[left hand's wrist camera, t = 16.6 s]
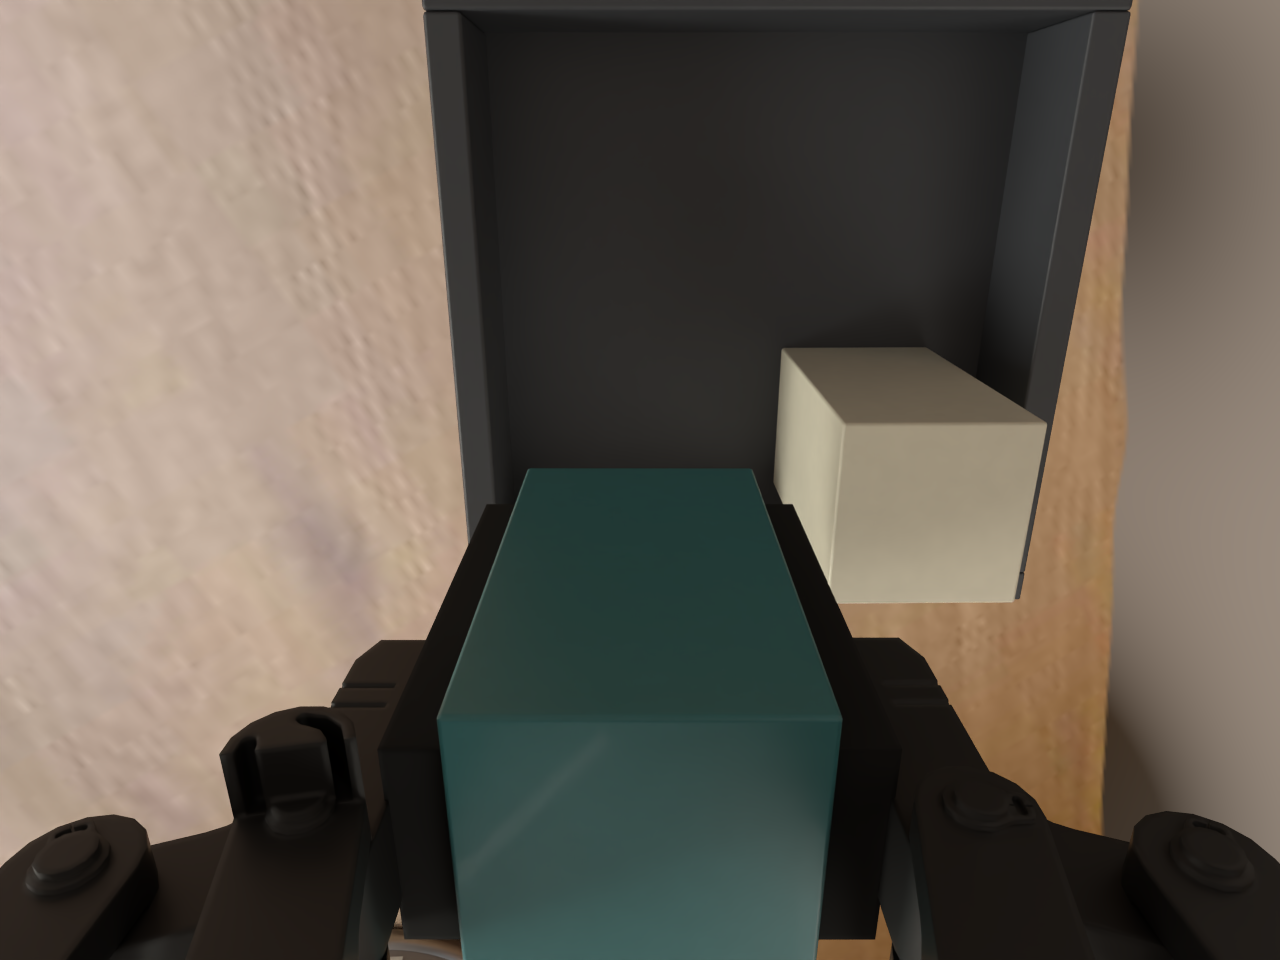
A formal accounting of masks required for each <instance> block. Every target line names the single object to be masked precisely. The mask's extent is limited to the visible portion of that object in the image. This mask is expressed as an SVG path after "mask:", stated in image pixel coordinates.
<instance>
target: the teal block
mask: <svg viewBox="0 0 1280 960" xmlns="http://www.w3.org/2000/svg"><path fill="white" fill-rule="evenodd" d="M842 720H843V718H842V716H841V713H840V710H839V707H838V705H837V702H836V699H835V696H834V694H833V691H832V688H831V685H830V683H829V680H828V677H827V674H826V672H825V669H824V666H823V663H822V661H821V658H820V655H819V652H818V649H817V647H816V644H815V641H814V638H813V636H812V633H811V630H810V627H809V625H808V622H807V619H806V616H805V614H804V611H803V608H802V605H801V603H800V600H799V597H798V594H797V592H796V589H795V586H794V583H793V581H792V578H791V575H790V572H789V570H788V567H787V564H786V561H785V559H784V556H783V553H782V550H781V548H780V545H779V542H778V539H777V536H776V534H775V531H774V528H773V525H772V523H771V520H770V517H769V514H768V512H767V509H766V506H765V503H764V501H763V498H762V495H761V492H760V490H759V487H758V484H757V481H756V479H755V476H754V473H753V470H752V469H683V468H530V469H528V471H527V473H526V476H525V479H524V481H523V484H522V487H521V490H520V492H519V495H518V498H517V501H516V503H515V506H514V509H513V511H512V514H511V517H510V520H509V522H508V525H507V528H506V531H505V533H504V536H503V539H502V541H501V544H500V547H499V550H498V552H497V555H496V558H495V561H494V563H493V566H492V569H491V571H490V574H489V577H488V580H487V582H486V585H485V588H484V591H483V593H482V596H481V599H480V601H479V604H478V607H477V610H476V612H475V615H474V618H473V621H472V623H471V626H470V629H469V631H468V634H467V637H466V640H465V642H464V645H463V648H462V651H461V653H460V656H459V659H458V661H457V664H456V667H455V670H454V672H453V675H452V678H451V681H450V683H449V686H448V689H447V691H446V694H445V697H444V700H443V702H442V705H441V708H440V711H439V713H438V716H437V727H438V736H439V745H440V754H441V763H442V773H443V782H444V791H445V800H446V809H447V819H448V828H449V837H450V846H451V855H452V864H453V874H454V883H455V892H456V901H457V910H458V919H459V929H460V938H461V947H462V956H463V960H816V957H817V948H818V939H819V930H820V921H821V912H822V903H823V893H824V884H825V875H826V866H827V857H828V848H829V839H830V830H831V820H832V811H833V802H834V793H835V784H836V775H837V766H838V757H839V748H840V738H841V729H842Z"/></svg>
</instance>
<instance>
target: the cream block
mask: <svg viewBox="0 0 1280 960" xmlns="http://www.w3.org/2000/svg"><path fill="white" fill-rule="evenodd" d="M1046 428H1047V423H1046V422H1045V421H1043V420H1042V419H1040V418H1038V417H1037V416H1035V415H1034V414H1032V413H1030V412H1029V411H1027V410H1026V409H1024V408H1022V407H1021V406H1019V405H1018V404H1016V403H1014V402H1013V401H1011V400H1010V399H1008V398H1006V397H1005V396H1003V395H1002V394H1000V393H998V392H997V391H995V390H994V389H992V388H990V387H989V386H987V385H985V384H984V383H982V382H981V381H979V380H977V379H976V378H974V377H973V376H971V375H969V374H968V373H966V372H965V371H963V370H961V369H960V368H958V367H957V366H955V365H953V364H952V363H950V362H949V361H947V360H945V359H944V358H942V357H941V356H939V355H937V354H936V353H934V352H933V351H931V350H929V349H928V348H926V347H879V348H783V349H782V351H781V367H780V383H779V400H778V416H777V432H776V448H775V464H774V481H773V482H774V485H775V487H776V489H777V492H778V494H779V496H780V498H781V501H782V503H783V504H793V506H794V508H795V510H796V512H797V515H798V517H799V519H800V521H801V524H802V526H803V528H804V530H805V533H806V535H807V537H808V539H809V541H810V544H811V546H812V548H813V550H814V553H815V555H816V557H817V559H818V562H819V564H820V566H821V568H822V571H823V573H824V575H825V577H826V580H827V582H828V584H829V586H830V588H831V591H832V593H833V595H834V597H835V600H836V602H837V603H991V602H1014V600H1015V594H1016V589H1017V584H1018V578H1019V573H1020V568H1021V562H1022V557H1023V552H1024V546H1025V541H1026V536H1027V530H1028V525H1029V519H1030V514H1031V509H1032V503H1033V498H1034V493H1035V487H1036V482H1037V477H1038V471H1039V466H1040V461H1041V455H1042V450H1043V445H1044V439H1045V434H1046Z"/></svg>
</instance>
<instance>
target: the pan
mask: <svg viewBox="0 0 1280 960" xmlns="http://www.w3.org/2000/svg"><path fill="white" fill-rule="evenodd" d="M1132 1H1133V0H422V6H423V8H424V10H425V11H426V12H424V15H423V18H424V30H425V42H426V53H427V65H428V77H429V89H430V100H431V112H432V124H433V135H434V147H435V159H436V171H437V182H438V194H439V206H440V218H441V229H442V241H443V253H444V264H445V276H446V288H447V300H448V311H449V323H450V335H451V347H452V358H453V370H454V382H455V393H456V405H457V417H458V429H459V440H460V452H461V464H462V476H463V487H464V499H465V511H466V522H467V534H468V545H469V543H470V540H471V538H472V536H473V534H474V531H475V529H476V527H477V525H478V523H479V520H480V518H481V516H482V514H483V511H484V509H485V507H486V505H487V504H515V503H516V501H517V498H518V495H519V492H520V490H521V487H522V484H523V481H524V479H525V476H526V473H527V471H528V469H530V468H683V469H752V470H753V473H754V476H755V479H756V481H757V484H758V487H759V490H760V492H761V495H762V498H763V501H764V503H765V504H783V503H782V501H781V498H780V496H779V494H778V492H777V489H776V487H775V485H774V482H773V481H774V464H775V448H776V432H777V416H778V400H779V383H780V367H781V351H782V349H783V348H879V347H926V348H928V349H929V350H931V351H933V352H934V353H936V354H937V355H939V356H941V357H942V358H944V359H945V360H947V361H949V362H950V363H952V364H953V365H955V366H957V367H958V368H960V369H961V370H963V371H965V372H966V373H968V374H969V375H971V376H973V377H974V378H976V379H977V380H979V381H981V382H982V383H984V384H985V385H987V386H989V387H990V388H992V389H994V390H995V391H997V392H998V393H1000V394H1002V395H1003V396H1005V397H1006V398H1008V399H1010V400H1011V401H1013V402H1014V403H1016V404H1018V405H1019V406H1021V407H1022V408H1024V409H1026V410H1027V411H1029V412H1030V413H1032V414H1034V415H1035V416H1037V417H1038V418H1040V419H1042V420H1043V421H1045V422H1046V423H1047V428H1046V434H1045V439H1044V445H1043V450H1042V455H1041V461H1040V466H1039V471H1038V477H1037V482H1036V487H1035V493H1034V498H1033V503H1032V509H1031V514H1030V519H1029V525H1028V530H1027V536H1026V541H1025V546H1024V552H1023V557H1022V562H1021V568H1020V573H1019V578H1018V584H1017V589H1016V594H1015V599H1019V598H1020V594H1021V589H1022V584H1023V579H1024V571H1025V567H1026V561H1027V556H1028V551H1029V546H1030V540H1031V535H1032V530H1033V525H1034V519H1035V514H1036V509H1037V504H1038V498H1039V493H1040V488H1041V482H1042V477H1043V472H1044V467H1045V461H1046V456H1047V451H1048V446H1049V440H1050V435H1051V430H1052V425H1053V419H1054V414H1055V409H1056V404H1057V398H1058V393H1059V388H1060V382H1061V377H1062V372H1063V367H1064V361H1065V356H1066V351H1067V346H1068V340H1069V335H1070V330H1071V325H1072V319H1073V314H1074V309H1075V304H1076V298H1077V293H1078V288H1079V282H1080V277H1081V272H1082V267H1083V261H1084V256H1085V251H1086V246H1087V240H1088V235H1089V230H1090V225H1091V219H1092V214H1093V209H1094V204H1095V198H1096V193H1097V188H1098V183H1099V177H1100V172H1101V167H1102V161H1103V156H1104V151H1105V146H1106V140H1107V135H1108V130H1109V125H1110V119H1111V114H1112V109H1113V104H1114V98H1115V93H1116V88H1117V83H1118V77H1119V72H1120V67H1121V61H1122V56H1123V51H1124V46H1125V40H1126V35H1127V30H1128V25H1129V19H1130V12H1128V10H1129V9H1130V8H1131V6H1132Z"/></svg>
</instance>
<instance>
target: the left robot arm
mask: <svg viewBox="0 0 1280 960" xmlns="http://www.w3.org/2000/svg"><path fill="white" fill-rule="evenodd" d="M514 506H515V504H487V505H486V507H485V509H484V511H483V514H482V516H481V518H480V520H479V523H478V525H477V527H476V529H475V531H474V534H473V536H472V538H471V540H470V543H469V545H468V547H467V549H466V552H465V554H464V556H463V558H462V561H461V563H460V565H459V567H458V569H457V572H456V574H455V576H454V578H453V581H452V583H451V585H450V587H449V590H448V592H447V594H446V596H445V599H444V601H443V603H442V605H441V607H440V610H439V612H438V614H437V616H436V619H435V621H434V623H433V625H432V628H431V630H430V632H429V634H428V637H427V639H426V640H381V641H379V642H378V643H377V644H376V645H374V646H373V647H372V648H371V649H369V650H368V651H367V652H365V653H364V654H363V655H362V656H360V657H359V658H358V659H357V660H355V662H354V664H353V666H352V667H351V669H350V671H349V673H348V674H347V676H346V678H345V680H344V682H343V683H342V688H340V689H339V690H338V692H337V694H336V696H335V697H334V699H333V701H332V703H331V704H332V705H331V708H327V707H296V708H292V709H287V710H283V711H278V712H274V713H272V714H270V715H268V716H265V717H263V718H261V719H259V720H256V721H254V722H252V723H250V724H249V725H247V726H246V727H245V728H243V729H242V730H241V731H239V732H238V733H237V734H235V735H234V736H233V737H231V739H230V740H229V741H228V743H227V744H226V746H225V747H224V749H223V750H222V751H221V753H220V754H219V756H220V760H221V764H222V769H223V773H224V777H225V782H226V786H227V790H228V795H229V799H230V803H231V808H232V812H233V816H234V820H233V823H232V824H230V825H228V826H225V827H222V828H218V829H215V830H212V831H209V832H206V833H201V834H197V835H193V836H189V837H184V838H180V839H176V840H172V841H168V842H163V843H159V844H155V845H150V842H149V838H148V835H147V831H146V829H145V828H144V827H143V826H142V825H140V824H139V823H138V822H137V821H136V820H135V819H133V818H128V817H123V816H119V815H105V816H96V817H87V818H84V819H81V820H78V821H75V822H72V823H69V824H66V825H63V826H60V827H57V828H55V829H54V830H52V831H50V832H48V833H46V834H44V835H43V836H41V837H39V838H37V839H35V840H33V841H32V842H30V843H28V844H27V845H26V846H25V847H24V848H22V849H21V850H20V851H19V852H18V853H16V854H15V855H14V856H13V857H11V858H10V859H9V860H8V861H7V862H5V863H4V865H3V866H2V867H1V868H0V960H463V956H462V947H461V942H460V941H458V940H455V939H461V938H460V929H459V919H458V910H457V901H456V892H455V883H454V874H453V864H452V855H451V846H450V837H449V828H448V819H447V809H446V800H445V791H444V782H443V773H442V763H441V754H440V745H439V736H438V727H437V716H438V713H439V711H440V708H441V705H442V702H443V700H444V697H445V694H446V691H447V689H448V686H449V683H450V681H451V678H452V675H453V672H454V670H455V667H456V664H457V661H458V659H459V656H460V653H461V651H462V648H463V645H464V642H465V640H466V637H467V634H468V631H469V629H470V626H471V623H472V621H473V618H474V615H475V612H476V610H477V607H478V604H479V601H480V599H481V596H482V593H483V591H484V588H485V585H486V582H487V580H488V577H489V574H490V571H491V569H492V566H493V563H494V561H495V558H496V555H497V552H498V550H499V547H500V544H501V541H502V539H503V536H504V533H505V531H506V528H507V525H508V522H509V520H510V517H511V514H512V511H513V509H514ZM765 506H766V509H767V512H768V514H769V517H770V520H771V523H772V525H773V528H774V531H775V534H776V536H777V539H778V542H779V545H780V548H781V550H782V553H783V556H784V559H785V561H786V564H787V567H788V570H789V572H790V575H791V578H792V581H793V583H794V586H795V589H796V592H797V594H798V597H799V600H800V603H801V605H802V608H803V611H804V614H805V616H806V619H807V622H808V625H809V627H810V630H811V633H812V636H813V638H814V641H815V644H816V647H817V649H818V652H819V655H820V658H821V661H822V663H823V666H824V669H825V672H826V674H827V677H828V680H829V683H830V685H831V688H832V691H833V694H834V696H835V699H836V702H837V705H838V707H839V710H840V713H841V716H842V718H843V720H842V729H841V738H840V748H839V757H838V766H837V775H836V784H835V793H834V802H833V811H832V820H831V830H830V839H829V848H828V857H827V866H826V875H825V884H824V893H823V903H822V912H821V921H820V930H819V939H875V936H876V929H877V922H878V915H879V908H880V905H881V909H882V912H883V915H884V918H885V921H886V924H887V927H888V930H889V933H890V936H891V939H892V947H891V954H890V960H1280V864H1279V862H1278V861H1277V860H1276V859H1275V858H1273V857H1272V856H1271V855H1270V854H1268V853H1267V852H1266V851H1265V850H1264V849H1262V848H1261V847H1260V846H1259V845H1258V844H1256V843H1255V842H1254V841H1253V840H1251V839H1250V838H1248V837H1246V836H1244V835H1242V834H1240V833H1239V832H1237V831H1235V830H1233V829H1231V828H1229V827H1228V826H1226V825H1224V824H1222V823H1219V822H1216V821H1213V820H1210V819H1207V818H1204V817H1201V816H1198V815H1194V814H1188V813H1179V812H1169V811H1165V812H1160V813H1155V814H1150V815H1146V816H1145V817H1144V818H1143V819H1142V820H1141V821H1139V822H1138V823H1137V824H1136V825H1135V826H1134V829H1133V832H1132V836H1131V839H1130V842H1126V841H1122V840H1118V839H1113V838H1109V837H1105V836H1101V835H1096V834H1092V833H1088V832H1084V831H1079V830H1075V829H1072V828H1069V827H1065V826H1062V825H1059V824H1056V823H1053V822H1051V821H1048V820H1047V819H1046V817H1045V815H1044V813H1043V812H1042V810H1041V808H1040V807H1039V805H1038V804H1037V802H1036V800H1035V799H1034V798H1032V797H1031V796H1030V795H1029V794H1028V793H1027V792H1025V791H1024V790H1023V789H1022V788H1021V787H1019V786H1018V785H1017V784H1016V783H1014V782H1011V781H1009V780H1007V779H1005V778H1003V777H1001V776H999V775H997V774H995V773H993V772H990V771H989V770H988V768H987V766H986V765H985V763H984V761H983V759H982V758H981V756H980V754H979V752H978V751H977V749H976V747H975V745H974V744H973V742H972V740H971V738H970V737H969V735H968V733H967V731H966V730H965V728H964V726H963V724H962V723H961V721H960V719H959V717H958V716H957V714H956V712H955V710H954V709H953V707H952V705H949V703H948V698H947V697H946V695H945V693H944V691H943V690H942V688H941V686H940V685H938V683H937V679H936V677H935V676H934V674H933V672H932V670H931V669H930V667H929V665H928V663H927V662H926V660H925V658H924V657H923V656H921V655H920V654H919V653H918V652H916V651H915V650H914V649H912V648H911V647H910V646H909V645H907V644H906V643H905V642H903V641H902V640H901V639H900V638H852V635H851V633H850V631H849V629H848V627H847V624H846V622H845V620H844V618H843V615H842V613H841V611H840V609H839V606H838V604H837V602H836V600H835V597H834V595H833V593H832V591H831V588H830V586H829V584H828V582H827V580H826V577H825V575H824V573H823V571H822V568H821V566H820V564H819V562H818V559H817V557H816V555H815V553H814V550H813V548H812V546H811V544H810V541H809V539H808V537H807V535H806V533H805V530H804V528H803V526H802V524H801V521H800V519H799V517H798V515H797V512H796V510H795V508H794V506H793V504H765ZM399 908H400V912H401V919H402V926H403V929H393V926H394V923H395V920H396V917H397V914H398V911H399Z"/></svg>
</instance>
